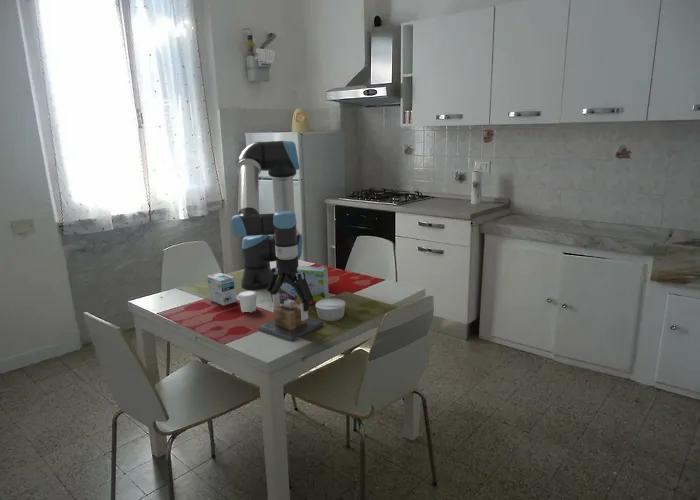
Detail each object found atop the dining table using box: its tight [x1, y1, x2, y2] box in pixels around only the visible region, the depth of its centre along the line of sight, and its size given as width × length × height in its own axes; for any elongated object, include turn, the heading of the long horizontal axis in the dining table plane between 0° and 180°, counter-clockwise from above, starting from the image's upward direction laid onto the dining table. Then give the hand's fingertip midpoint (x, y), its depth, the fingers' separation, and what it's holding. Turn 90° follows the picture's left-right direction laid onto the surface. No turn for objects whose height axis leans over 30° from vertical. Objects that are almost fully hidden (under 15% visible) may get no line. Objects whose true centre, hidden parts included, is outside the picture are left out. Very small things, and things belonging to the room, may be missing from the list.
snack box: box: [273, 265, 330, 307], centre depth 192 cm, size 21×6×15 cm, turn 72°
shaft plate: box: [258, 299, 324, 342], centre depth 168 cm, size 16×16×10 cm
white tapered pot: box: [237, 290, 257, 313], centre depth 186 cm, size 7×7×7 cm
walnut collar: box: [273, 304, 307, 330], centre depth 168 cm, size 8×8×6 cm
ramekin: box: [314, 297, 346, 322], centre depth 178 cm, size 11×11×5 cm
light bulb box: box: [206, 272, 237, 307], centre depth 196 cm, size 11×7×11 cm, turn 47°
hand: (290, 315), depth 168 cm, fingers open, 13 cm apart
